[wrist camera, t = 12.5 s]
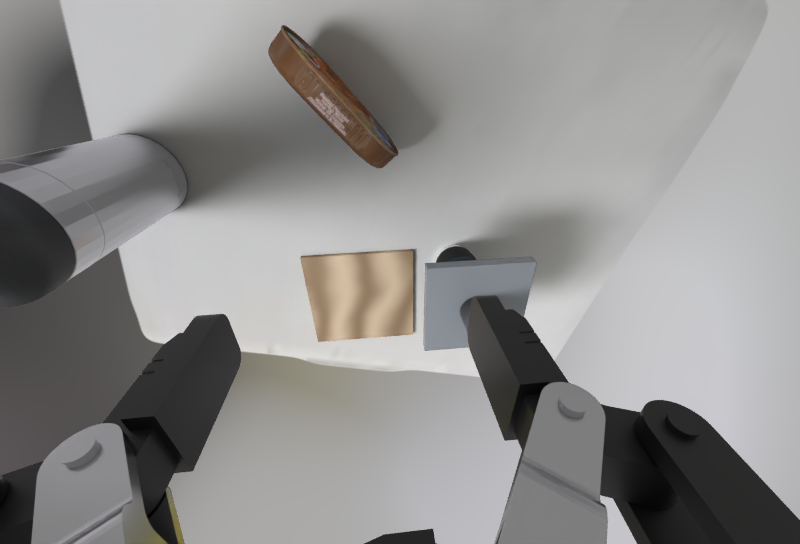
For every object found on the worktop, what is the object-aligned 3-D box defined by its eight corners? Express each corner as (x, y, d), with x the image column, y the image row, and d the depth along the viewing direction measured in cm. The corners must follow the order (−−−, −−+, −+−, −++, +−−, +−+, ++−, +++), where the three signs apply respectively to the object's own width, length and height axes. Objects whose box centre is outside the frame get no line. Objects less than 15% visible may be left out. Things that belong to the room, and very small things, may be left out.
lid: (423, 344, 40) (433, 390, 34) (425, 263, 34) (438, 303, 28) (513, 336, 41) (539, 381, 35) (531, 256, 35) (566, 293, 29)
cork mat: (318, 339, 53) (318, 341, 52) (301, 256, 44) (300, 258, 44) (412, 332, 54) (413, 334, 53) (412, 249, 45) (413, 251, 45)
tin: (397, 144, 38) (404, 159, 31) (379, 163, 39) (381, 181, 32) (296, 28, 31) (274, 12, 24) (276, 54, 32) (250, 46, 25)
